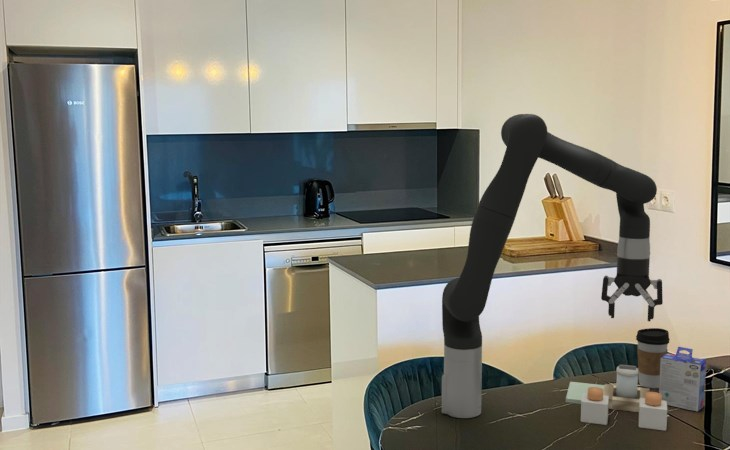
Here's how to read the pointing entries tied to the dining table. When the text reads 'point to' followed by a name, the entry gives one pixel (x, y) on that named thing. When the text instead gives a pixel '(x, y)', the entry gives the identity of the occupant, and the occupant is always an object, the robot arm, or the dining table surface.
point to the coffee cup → (651, 355)
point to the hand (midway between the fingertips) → (630, 319)
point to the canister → (627, 381)
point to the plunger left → (595, 393)
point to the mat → (579, 391)
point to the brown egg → (653, 398)
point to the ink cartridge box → (682, 380)
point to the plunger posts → (647, 413)
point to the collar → (623, 399)
